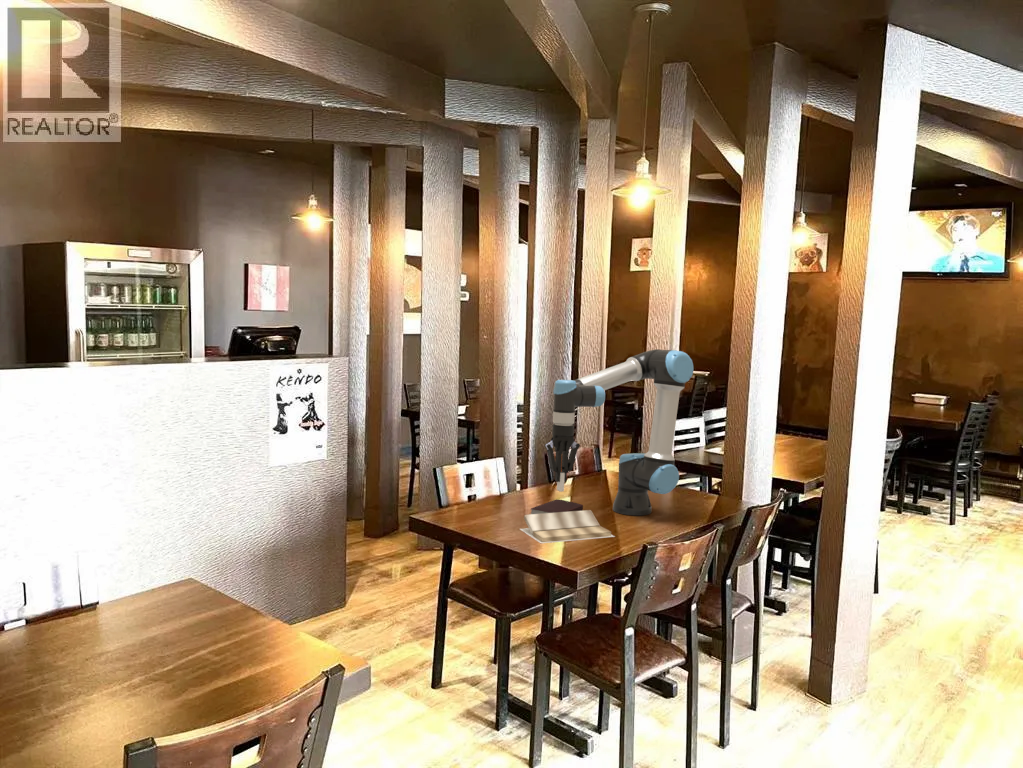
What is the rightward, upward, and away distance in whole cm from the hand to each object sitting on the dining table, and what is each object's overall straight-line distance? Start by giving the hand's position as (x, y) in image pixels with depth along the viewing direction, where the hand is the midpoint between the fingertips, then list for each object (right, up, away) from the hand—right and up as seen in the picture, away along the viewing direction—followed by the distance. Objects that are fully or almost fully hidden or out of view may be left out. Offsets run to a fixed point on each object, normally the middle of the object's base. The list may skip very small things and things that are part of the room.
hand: (560, 490), depth 265 cm
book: (0, -13, +28) cm, 31 cm away
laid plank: (+4, -14, -8) cm, 17 cm away
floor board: (+2, -15, -4) cm, 16 cm away
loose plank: (0, -11, 0) cm, 12 cm away
